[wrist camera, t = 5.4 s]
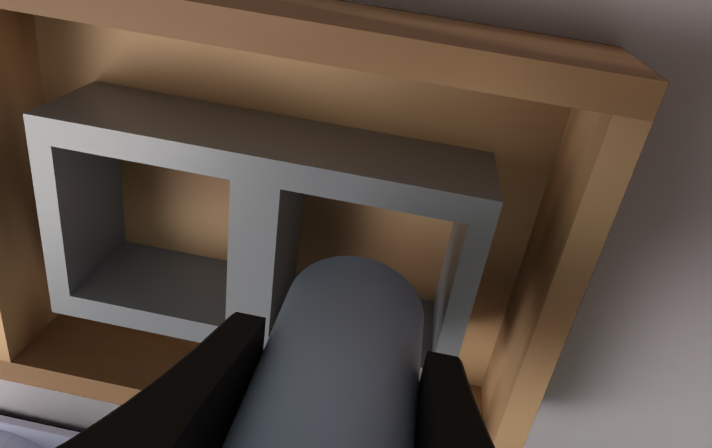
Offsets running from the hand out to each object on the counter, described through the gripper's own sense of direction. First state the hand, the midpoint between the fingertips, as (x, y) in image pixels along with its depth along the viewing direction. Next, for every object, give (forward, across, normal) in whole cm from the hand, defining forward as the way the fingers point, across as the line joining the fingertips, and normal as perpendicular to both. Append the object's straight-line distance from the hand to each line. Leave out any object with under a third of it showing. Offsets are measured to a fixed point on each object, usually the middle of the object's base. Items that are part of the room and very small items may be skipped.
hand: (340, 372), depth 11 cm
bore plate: (+7, +3, 0) cm, 7 cm away
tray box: (+7, +3, 0) cm, 7 cm away
